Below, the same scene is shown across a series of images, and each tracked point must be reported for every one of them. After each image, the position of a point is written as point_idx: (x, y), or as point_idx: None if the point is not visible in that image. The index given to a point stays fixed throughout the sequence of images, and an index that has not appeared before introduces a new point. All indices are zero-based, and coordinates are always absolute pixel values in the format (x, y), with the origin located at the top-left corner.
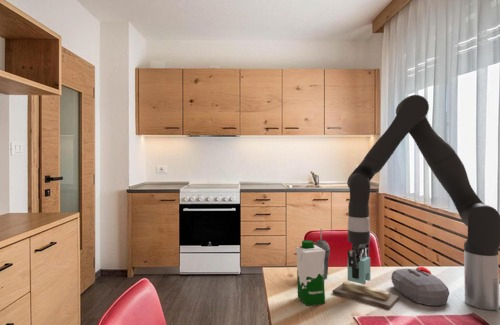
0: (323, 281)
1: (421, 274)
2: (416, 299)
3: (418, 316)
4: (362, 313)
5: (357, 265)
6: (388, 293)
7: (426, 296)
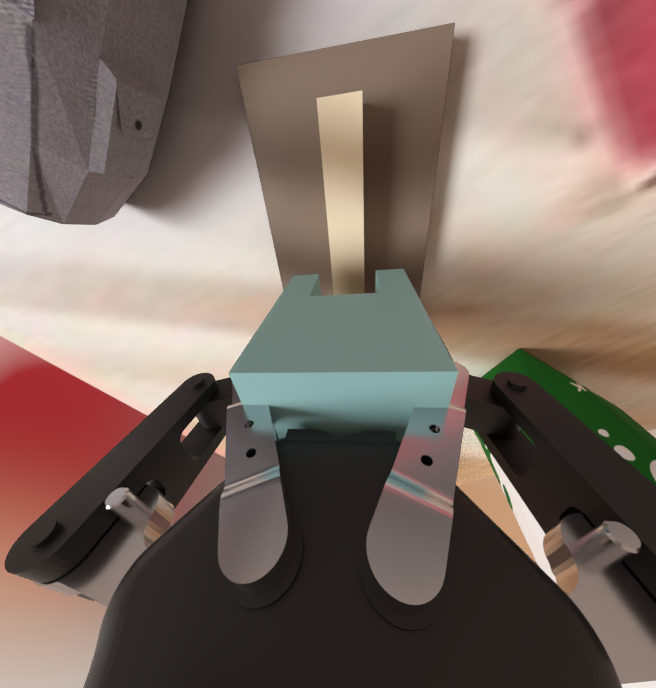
0: (590, 424)
1: None
2: None
3: None
4: (580, 166)
5: (465, 383)
6: (337, 95)
7: None
